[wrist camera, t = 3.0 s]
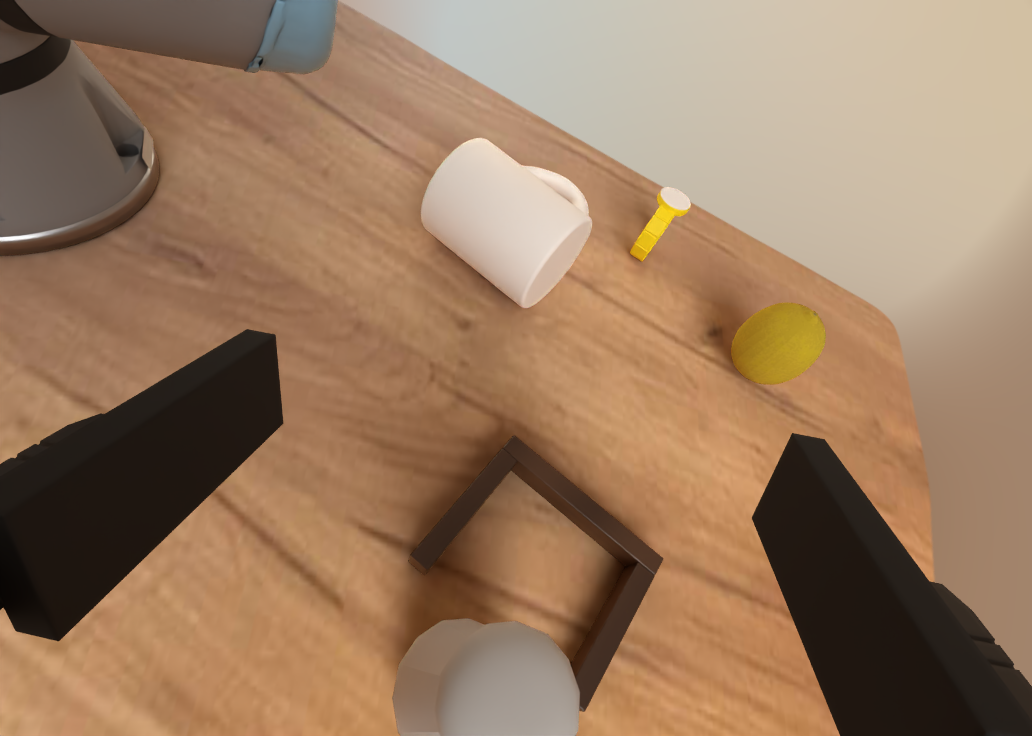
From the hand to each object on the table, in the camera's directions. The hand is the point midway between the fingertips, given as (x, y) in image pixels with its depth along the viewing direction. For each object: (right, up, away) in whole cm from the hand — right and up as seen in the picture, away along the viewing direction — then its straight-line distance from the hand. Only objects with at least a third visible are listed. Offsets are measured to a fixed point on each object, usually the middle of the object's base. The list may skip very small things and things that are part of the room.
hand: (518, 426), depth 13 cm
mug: (-1, +11, +28) cm, 31 cm away
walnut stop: (+1, -10, +16) cm, 19 cm away
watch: (+11, +12, +33) cm, 37 cm away
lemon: (+19, +1, +28) cm, 34 cm away
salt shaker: (-3, -14, +12) cm, 19 cm away
